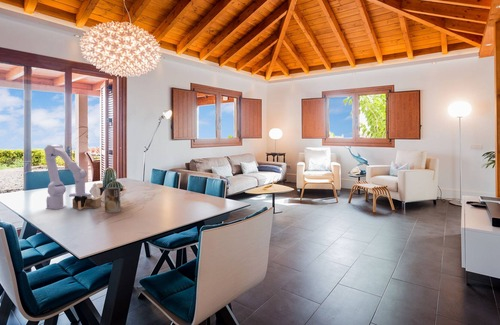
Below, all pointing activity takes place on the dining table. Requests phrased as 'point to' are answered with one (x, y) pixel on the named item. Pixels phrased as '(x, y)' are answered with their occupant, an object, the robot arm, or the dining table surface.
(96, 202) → the wooden block
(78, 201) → the tall wooden plank
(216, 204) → the dining table surface
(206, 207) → the dining table surface
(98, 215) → the dining table surface
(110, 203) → the coffee box
